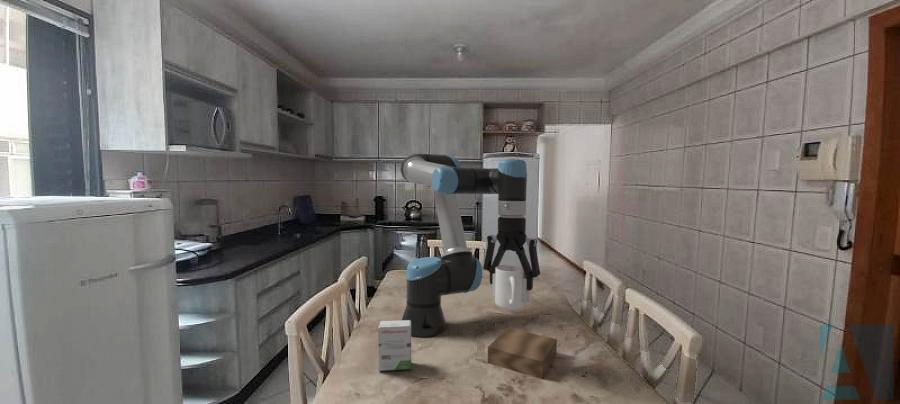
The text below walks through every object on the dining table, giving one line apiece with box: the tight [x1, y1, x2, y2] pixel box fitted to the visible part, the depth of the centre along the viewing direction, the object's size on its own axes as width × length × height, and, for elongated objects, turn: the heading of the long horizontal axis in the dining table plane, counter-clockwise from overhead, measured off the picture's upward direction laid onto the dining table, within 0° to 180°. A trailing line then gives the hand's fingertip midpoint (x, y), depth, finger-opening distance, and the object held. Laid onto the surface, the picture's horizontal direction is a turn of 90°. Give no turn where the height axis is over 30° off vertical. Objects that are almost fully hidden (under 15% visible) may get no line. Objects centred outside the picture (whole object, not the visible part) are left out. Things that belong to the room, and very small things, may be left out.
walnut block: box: [487, 327, 558, 380], centre depth 99 cm, size 15×15×5 cm
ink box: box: [377, 319, 412, 372], centre depth 94 cm, size 9×5×12 cm, turn 96°
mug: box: [494, 264, 526, 311], centre depth 95 cm, size 12×8×10 cm
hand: (510, 298), depth 97 cm, fingers closed on mug, 8 cm apart
